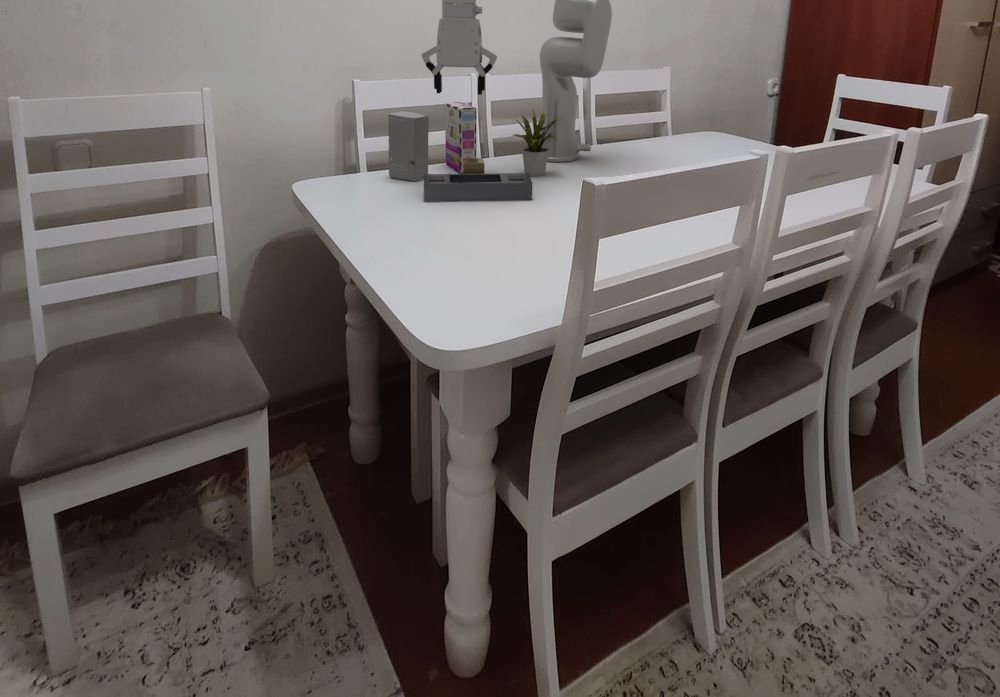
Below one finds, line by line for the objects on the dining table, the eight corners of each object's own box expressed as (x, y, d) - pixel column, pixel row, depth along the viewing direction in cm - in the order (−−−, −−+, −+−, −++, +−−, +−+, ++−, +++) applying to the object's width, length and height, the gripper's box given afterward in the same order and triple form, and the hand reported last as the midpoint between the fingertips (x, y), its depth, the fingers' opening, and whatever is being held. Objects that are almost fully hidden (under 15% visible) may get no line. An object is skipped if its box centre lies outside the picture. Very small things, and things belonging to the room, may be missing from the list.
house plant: (565, 182, 179) (568, 115, 171) (510, 181, 179) (511, 114, 172) (562, 168, 192) (565, 105, 184) (510, 167, 192) (511, 104, 184)
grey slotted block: (527, 189, 173) (528, 172, 171) (532, 199, 165) (532, 181, 163) (424, 190, 171) (424, 173, 169) (424, 201, 163) (423, 183, 161)
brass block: (483, 182, 179) (483, 157, 176) (484, 187, 174) (484, 162, 171) (463, 182, 178) (462, 157, 175) (464, 187, 174) (463, 162, 171)
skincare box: (388, 178, 181) (384, 114, 174) (404, 172, 187) (401, 109, 179) (416, 182, 178) (413, 117, 170) (431, 176, 183) (429, 112, 176)
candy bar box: (477, 172, 187) (477, 107, 180) (460, 173, 186) (459, 108, 178) (462, 162, 196) (461, 100, 189) (445, 164, 194) (443, 102, 187)
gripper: (499, 12, 160) (498, 92, 168) (423, 10, 161) (426, 90, 169) (495, 13, 153) (494, 96, 161) (417, 12, 155) (419, 94, 163)
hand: (459, 93), depth 165 cm, fingers open, 9 cm apart
